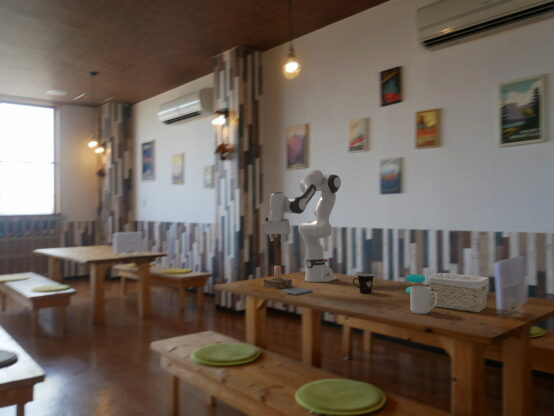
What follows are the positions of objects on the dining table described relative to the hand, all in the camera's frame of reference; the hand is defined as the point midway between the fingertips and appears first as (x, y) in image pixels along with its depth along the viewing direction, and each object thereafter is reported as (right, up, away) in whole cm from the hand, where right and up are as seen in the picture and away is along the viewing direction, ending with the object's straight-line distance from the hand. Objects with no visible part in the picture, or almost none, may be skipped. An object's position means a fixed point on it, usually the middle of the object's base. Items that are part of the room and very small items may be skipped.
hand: (277, 241), depth 271 cm
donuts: (+76, -27, -24) cm, 84 cm away
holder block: (0, -28, 0) cm, 28 cm away
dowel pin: (0, -27, 0) cm, 27 cm away
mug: (+67, -27, -67) cm, 98 cm away
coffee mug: (+48, -28, -19) cm, 59 cm away
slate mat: (+10, -28, -14) cm, 33 cm away
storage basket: (+86, -27, -58) cm, 107 cm away
